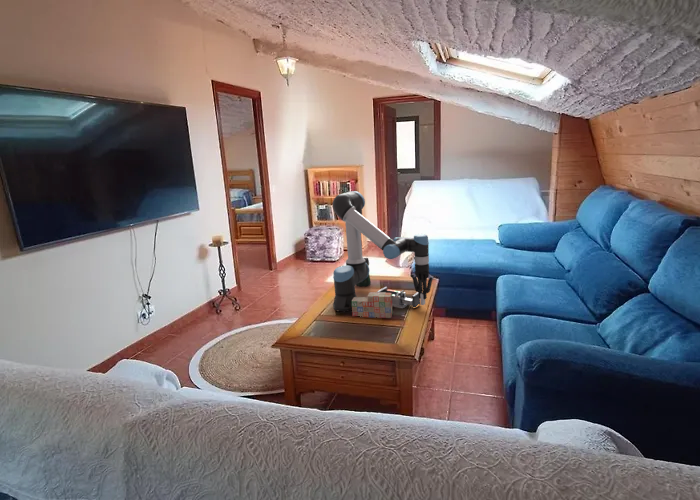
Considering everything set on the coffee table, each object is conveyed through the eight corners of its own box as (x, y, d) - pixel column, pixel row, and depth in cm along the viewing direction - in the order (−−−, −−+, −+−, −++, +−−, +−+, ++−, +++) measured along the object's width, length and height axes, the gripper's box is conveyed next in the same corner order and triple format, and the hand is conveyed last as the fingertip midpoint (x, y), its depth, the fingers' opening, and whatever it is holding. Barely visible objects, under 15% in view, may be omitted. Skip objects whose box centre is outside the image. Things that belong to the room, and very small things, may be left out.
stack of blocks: (352, 317, 222) (350, 295, 219) (354, 312, 227) (353, 291, 224) (391, 318, 216) (390, 296, 213) (393, 313, 222) (391, 292, 219)
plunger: (413, 310, 223) (413, 297, 221) (389, 305, 232) (388, 292, 231) (421, 304, 230) (420, 291, 228) (397, 299, 239) (396, 287, 238)
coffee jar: (371, 283, 273) (370, 256, 269) (368, 287, 266) (366, 259, 261) (358, 282, 276) (356, 256, 272) (354, 286, 269) (352, 259, 264)
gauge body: (403, 308, 227) (402, 296, 225) (377, 303, 237) (377, 291, 235) (411, 303, 234) (410, 290, 232) (385, 298, 244) (385, 286, 242)
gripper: (436, 262, 217) (436, 303, 223) (414, 260, 225) (415, 300, 231) (429, 266, 212) (430, 308, 217) (407, 263, 219) (409, 304, 225)
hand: (423, 304), depth 224 cm, fingers closed
